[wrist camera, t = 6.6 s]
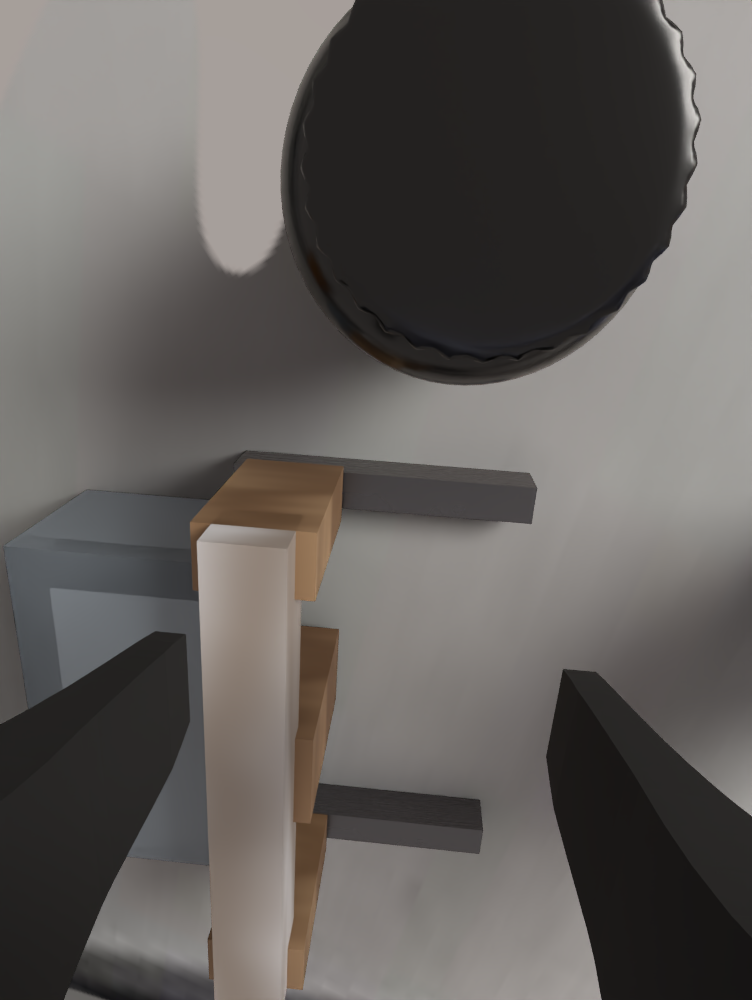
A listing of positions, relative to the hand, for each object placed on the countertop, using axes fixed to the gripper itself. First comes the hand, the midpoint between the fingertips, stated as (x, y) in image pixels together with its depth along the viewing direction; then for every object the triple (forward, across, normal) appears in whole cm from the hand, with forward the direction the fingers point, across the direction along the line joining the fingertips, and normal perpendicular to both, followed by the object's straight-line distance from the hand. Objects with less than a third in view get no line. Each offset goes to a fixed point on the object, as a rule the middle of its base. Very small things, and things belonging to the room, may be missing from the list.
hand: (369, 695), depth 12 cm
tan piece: (+10, +3, +6) cm, 12 cm away
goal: (+10, +7, +6) cm, 14 cm away
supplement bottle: (+11, -1, -9) cm, 14 cm away
